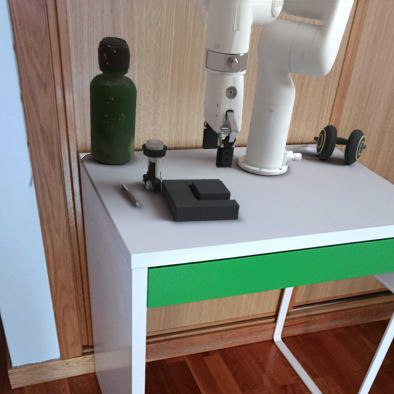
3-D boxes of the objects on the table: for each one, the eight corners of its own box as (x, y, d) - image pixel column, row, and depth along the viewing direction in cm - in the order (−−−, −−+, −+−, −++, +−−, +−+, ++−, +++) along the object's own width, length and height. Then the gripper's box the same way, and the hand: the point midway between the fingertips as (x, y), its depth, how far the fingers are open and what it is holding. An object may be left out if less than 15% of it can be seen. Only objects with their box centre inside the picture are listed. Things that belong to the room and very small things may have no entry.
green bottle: (136, 149, 126) (141, 37, 108) (130, 168, 119) (135, 52, 101) (95, 143, 125) (93, 29, 108) (86, 162, 118) (84, 43, 100)
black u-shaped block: (217, 191, 112) (219, 178, 110) (237, 219, 102) (239, 205, 100) (161, 193, 109) (161, 179, 107) (175, 221, 98) (176, 207, 96)
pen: (119, 186, 109) (119, 181, 108) (122, 185, 109) (122, 181, 109) (136, 207, 102) (136, 202, 101) (140, 207, 102) (140, 202, 101)
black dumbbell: (308, 158, 133) (310, 151, 150) (364, 167, 131) (360, 160, 148) (316, 123, 129) (318, 121, 146) (374, 132, 127) (369, 129, 144)
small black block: (219, 198, 109) (221, 180, 107) (228, 211, 104) (230, 193, 102) (190, 199, 107) (192, 181, 105) (198, 212, 103) (200, 193, 100)
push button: (133, 184, 111) (133, 137, 105) (152, 180, 114) (154, 134, 107) (150, 195, 107) (151, 147, 101) (170, 190, 110) (172, 144, 104)
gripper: (262, 74, 83) (248, 174, 95) (231, 51, 96) (221, 141, 107) (219, 73, 82) (210, 175, 93) (193, 50, 94) (187, 142, 105)
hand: (216, 157), depth 100 cm, fingers open, 9 cm apart
